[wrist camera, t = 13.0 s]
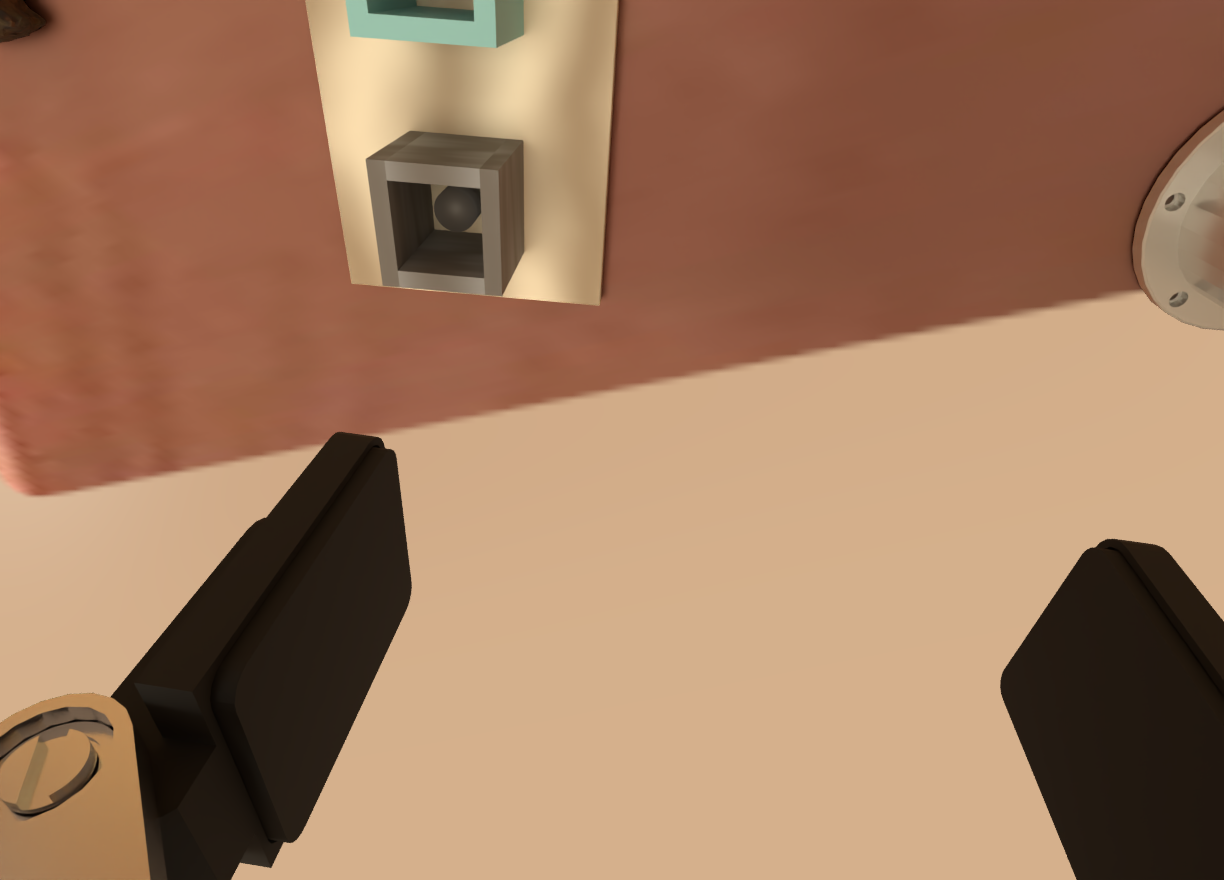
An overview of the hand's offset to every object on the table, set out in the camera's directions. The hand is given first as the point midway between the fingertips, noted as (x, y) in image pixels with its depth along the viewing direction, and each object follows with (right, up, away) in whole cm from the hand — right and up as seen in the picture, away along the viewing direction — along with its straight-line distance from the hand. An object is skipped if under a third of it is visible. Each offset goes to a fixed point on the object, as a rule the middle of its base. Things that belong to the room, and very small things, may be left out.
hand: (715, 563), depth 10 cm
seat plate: (-8, +20, +23) cm, 31 cm away
